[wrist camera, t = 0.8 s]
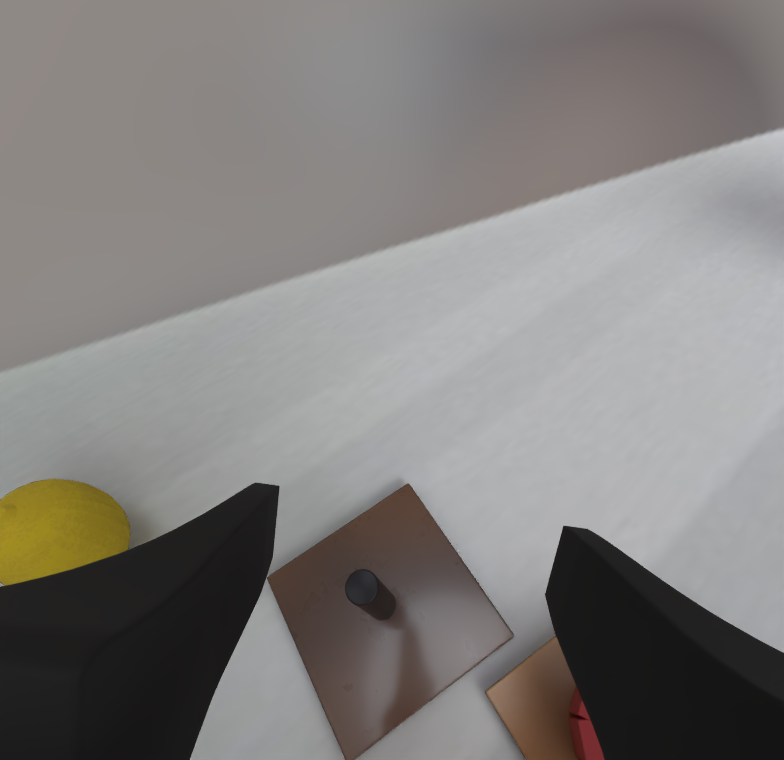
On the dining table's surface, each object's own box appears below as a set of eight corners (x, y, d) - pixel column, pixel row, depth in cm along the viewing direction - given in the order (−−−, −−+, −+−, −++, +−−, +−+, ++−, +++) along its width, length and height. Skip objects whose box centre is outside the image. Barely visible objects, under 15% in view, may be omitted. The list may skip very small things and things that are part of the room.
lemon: (139, 490, 30) (41, 434, 23) (172, 562, 27) (71, 521, 20) (55, 549, 28) (-74, 507, 22) (80, 631, 26) (-59, 611, 19)
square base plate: (513, 636, 22) (522, 623, 18) (350, 762, 21) (313, 783, 16) (409, 486, 27) (395, 445, 23) (270, 579, 26) (224, 555, 21)
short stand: (819, 781, 18) (887, 799, 15) (645, 953, 17) (682, 1011, 14) (633, 573, 23) (656, 557, 20) (484, 691, 21) (485, 692, 18)
